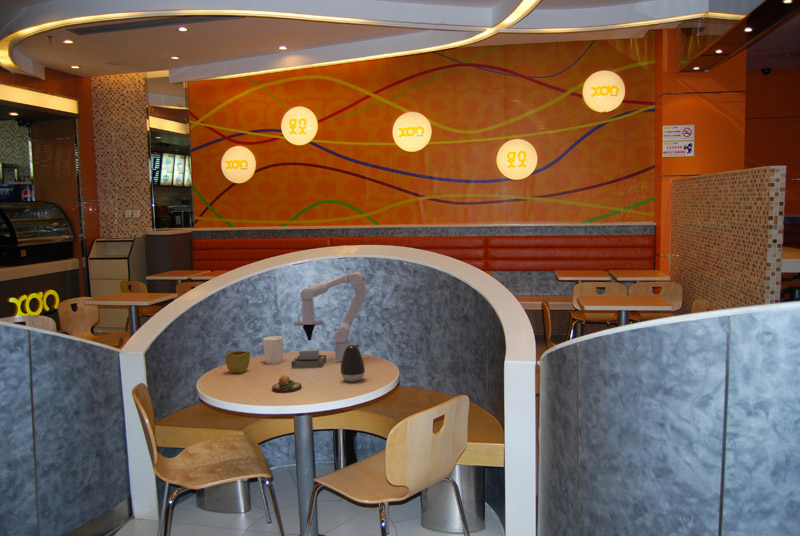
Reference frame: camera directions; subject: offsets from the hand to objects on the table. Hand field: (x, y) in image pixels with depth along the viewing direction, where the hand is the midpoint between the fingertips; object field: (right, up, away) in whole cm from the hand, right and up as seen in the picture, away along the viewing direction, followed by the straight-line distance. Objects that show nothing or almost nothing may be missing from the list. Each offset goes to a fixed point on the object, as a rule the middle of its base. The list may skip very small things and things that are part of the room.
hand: (309, 340), depth 301 cm
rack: (+1, -11, -7) cm, 13 cm away
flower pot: (-30, -13, -17) cm, 37 cm away
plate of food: (-2, -15, -50) cm, 52 cm away
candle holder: (-18, -11, +2) cm, 21 cm away
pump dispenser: (+24, -13, -40) cm, 49 cm away
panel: (+1, -10, -7) cm, 13 cm away
